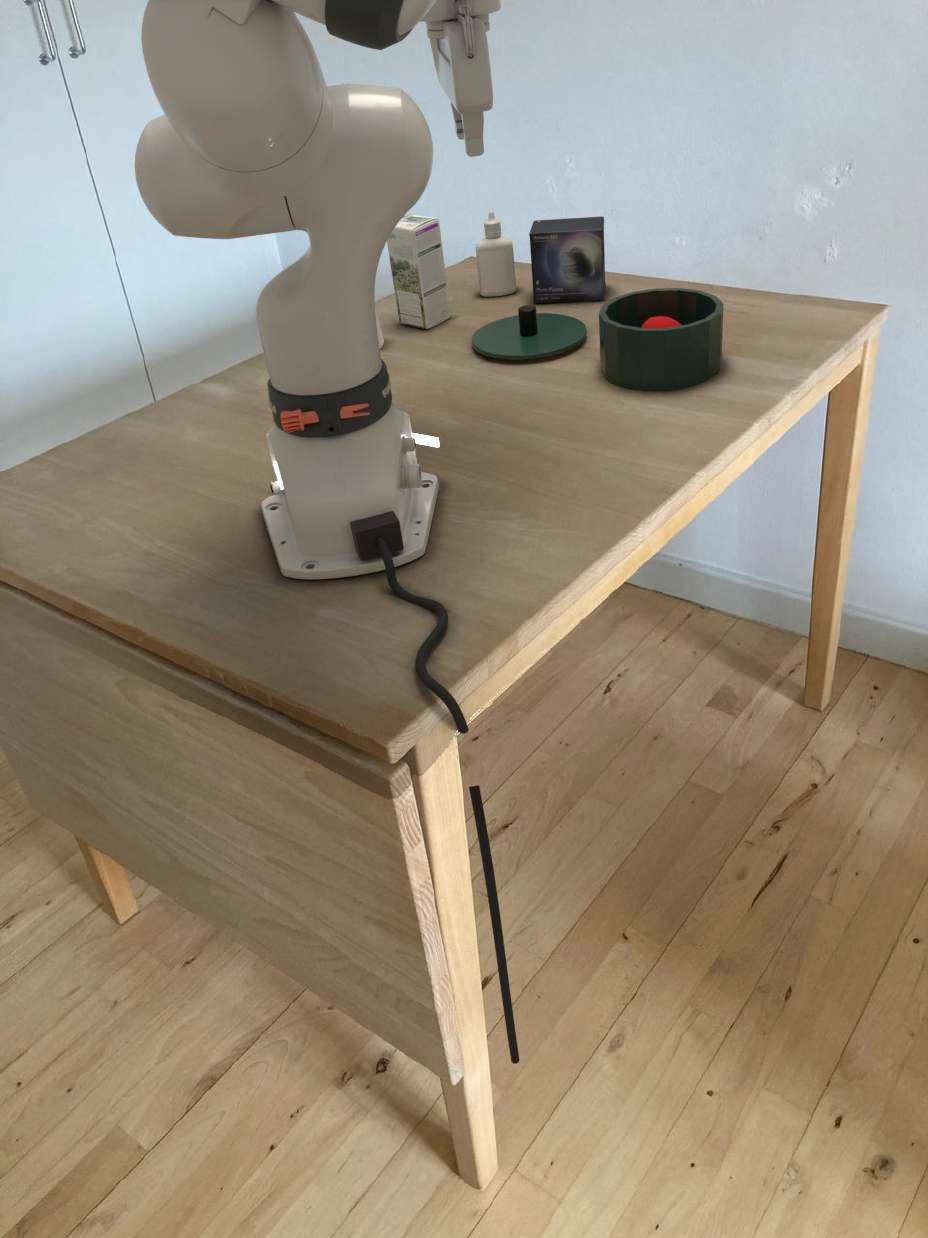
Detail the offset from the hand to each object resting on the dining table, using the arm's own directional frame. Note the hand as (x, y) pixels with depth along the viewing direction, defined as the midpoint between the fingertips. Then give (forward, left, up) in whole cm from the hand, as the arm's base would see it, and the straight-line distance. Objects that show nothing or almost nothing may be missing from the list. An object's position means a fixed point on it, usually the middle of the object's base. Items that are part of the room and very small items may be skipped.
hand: (469, 146), depth 110 cm
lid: (+18, -7, -28) cm, 34 cm away
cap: (+3, -21, -29) cm, 36 cm away
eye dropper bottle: (+40, -6, -29) cm, 50 cm away
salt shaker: (+25, +15, -29) cm, 41 cm away
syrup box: (+32, +6, -29) cm, 44 cm away
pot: (+3, -21, -29) cm, 36 cm away
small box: (+34, -16, -29) cm, 48 cm away
